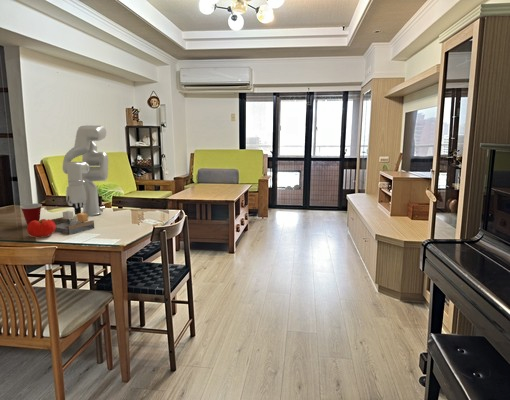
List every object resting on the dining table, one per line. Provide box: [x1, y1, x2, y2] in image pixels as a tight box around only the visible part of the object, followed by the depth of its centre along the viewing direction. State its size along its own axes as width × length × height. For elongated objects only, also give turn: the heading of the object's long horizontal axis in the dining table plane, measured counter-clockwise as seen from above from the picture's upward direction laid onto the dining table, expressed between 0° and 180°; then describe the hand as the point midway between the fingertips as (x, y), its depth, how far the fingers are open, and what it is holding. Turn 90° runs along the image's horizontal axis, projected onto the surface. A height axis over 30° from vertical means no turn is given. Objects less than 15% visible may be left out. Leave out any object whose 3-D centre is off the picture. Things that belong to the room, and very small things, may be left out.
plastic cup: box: [19, 203, 43, 226], centre depth 201 cm, size 11×11×12 cm
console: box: [50, 216, 95, 235], centre depth 194 cm, size 15×24×4 cm, turn 61°
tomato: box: [26, 218, 56, 239], centre depth 179 cm, size 14×13×9 cm
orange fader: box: [76, 212, 89, 223], centre depth 195 cm, size 3×5×5 cm, turn 61°
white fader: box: [62, 210, 74, 221], centre depth 201 cm, size 3×5×5 cm, turn 61°
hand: (78, 214), depth 206 cm, fingers closed
